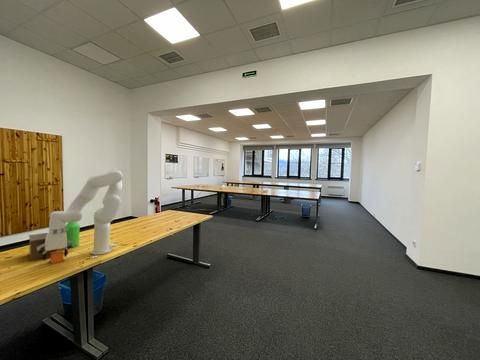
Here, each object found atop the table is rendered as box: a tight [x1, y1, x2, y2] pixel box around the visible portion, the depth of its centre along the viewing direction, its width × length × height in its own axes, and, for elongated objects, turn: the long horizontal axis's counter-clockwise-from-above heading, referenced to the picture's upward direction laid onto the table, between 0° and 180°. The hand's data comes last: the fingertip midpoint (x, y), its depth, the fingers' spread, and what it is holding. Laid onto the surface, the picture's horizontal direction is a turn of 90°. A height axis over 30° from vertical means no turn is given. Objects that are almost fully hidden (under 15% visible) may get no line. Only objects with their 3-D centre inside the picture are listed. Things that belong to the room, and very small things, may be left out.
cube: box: [49, 250, 64, 264], centre depth 124 cm, size 5×5×5 cm
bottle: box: [65, 222, 81, 249], centre depth 149 cm, size 9×9×25 cm
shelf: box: [28, 232, 58, 262], centre depth 132 cm, size 13×16×13 cm
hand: (55, 258), depth 123 cm, fingers open, 9 cm apart
